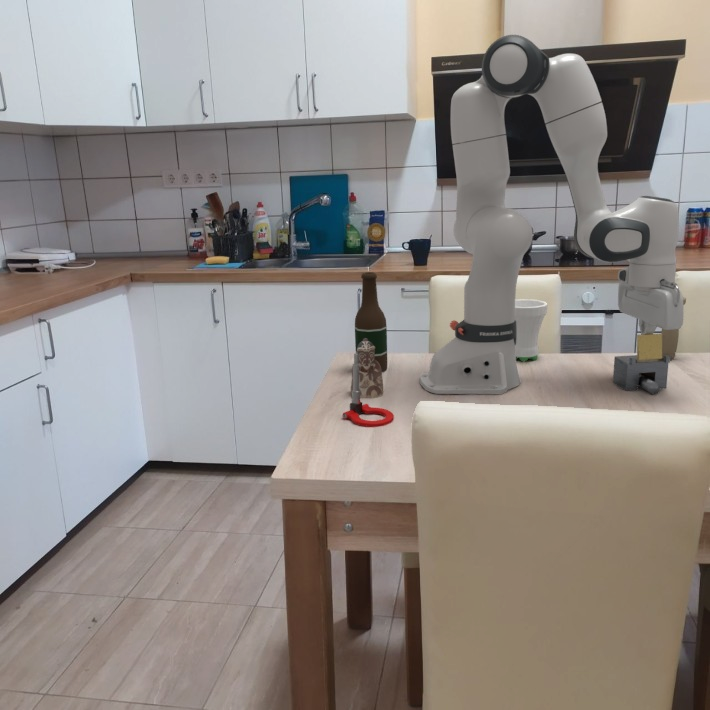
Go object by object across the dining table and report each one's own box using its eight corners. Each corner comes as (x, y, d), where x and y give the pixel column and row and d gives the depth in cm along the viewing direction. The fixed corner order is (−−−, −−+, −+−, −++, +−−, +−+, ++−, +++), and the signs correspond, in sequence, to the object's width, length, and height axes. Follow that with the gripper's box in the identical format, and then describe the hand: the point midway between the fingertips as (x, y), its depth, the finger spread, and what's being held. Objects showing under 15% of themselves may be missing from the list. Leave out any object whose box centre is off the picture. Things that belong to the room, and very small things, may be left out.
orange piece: (643, 394, 140) (644, 379, 139) (616, 378, 151) (617, 363, 150) (665, 393, 140) (667, 378, 139) (637, 377, 152) (638, 362, 151)
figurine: (348, 398, 145) (346, 344, 142) (353, 388, 152) (351, 336, 149) (381, 398, 144) (380, 344, 141) (384, 388, 151) (383, 336, 148)
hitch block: (628, 392, 142) (630, 358, 140) (612, 382, 149) (615, 350, 147) (669, 389, 143) (672, 356, 141) (652, 380, 150) (654, 348, 148)
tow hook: (402, 420, 132) (367, 408, 138) (403, 357, 129) (367, 348, 135) (374, 432, 126) (338, 420, 132) (374, 367, 123) (338, 357, 129)
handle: (684, 358, 165) (690, 298, 161) (668, 362, 162) (673, 301, 158) (667, 354, 169) (672, 295, 166) (650, 358, 166) (655, 298, 162)
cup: (501, 363, 167) (502, 307, 163) (498, 352, 177) (499, 299, 174) (548, 363, 165) (550, 307, 161) (542, 352, 176) (544, 298, 172)
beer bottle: (385, 374, 161) (383, 275, 155) (353, 374, 162) (350, 275, 156) (389, 365, 168) (387, 270, 162) (358, 365, 170) (355, 270, 164)
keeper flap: (636, 335, 140) (634, 335, 141) (636, 363, 141) (634, 362, 141) (664, 333, 140) (662, 333, 141) (664, 361, 141) (662, 361, 142)
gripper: (695, 283, 129) (689, 352, 132) (641, 269, 149) (637, 330, 152) (664, 284, 128) (658, 354, 132) (614, 270, 148) (610, 331, 152)
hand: (646, 341), depth 142 cm, fingers closed, pressing on keeper flap
